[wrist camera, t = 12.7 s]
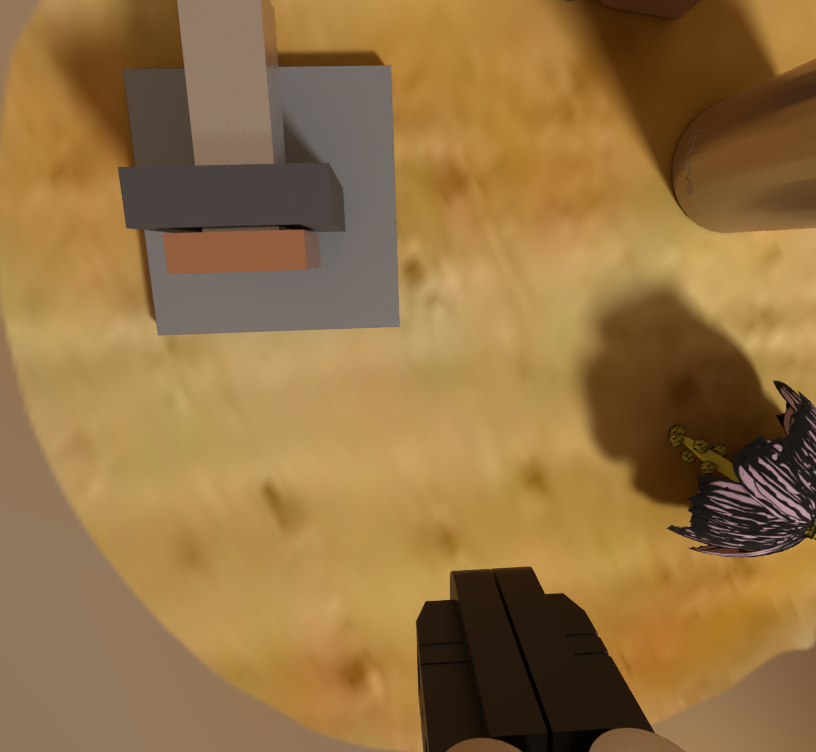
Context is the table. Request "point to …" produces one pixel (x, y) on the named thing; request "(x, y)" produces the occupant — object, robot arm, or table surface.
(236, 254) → the sliding block
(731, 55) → the table surface
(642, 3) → the wooden block
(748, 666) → the table surface
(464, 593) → the robot arm
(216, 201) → the rubber collar
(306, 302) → the base plate
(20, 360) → the table surface
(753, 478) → the decorative flower
